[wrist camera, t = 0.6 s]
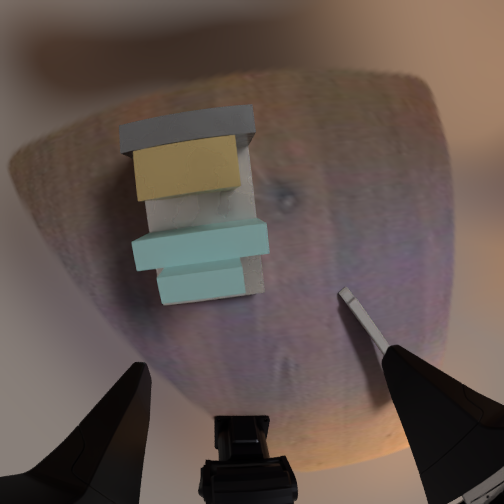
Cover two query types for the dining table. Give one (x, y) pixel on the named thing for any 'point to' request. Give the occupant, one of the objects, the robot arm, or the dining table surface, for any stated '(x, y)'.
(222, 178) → the brass block
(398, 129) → the dining table surface
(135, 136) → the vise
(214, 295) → the block
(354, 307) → the grey long thin bar
